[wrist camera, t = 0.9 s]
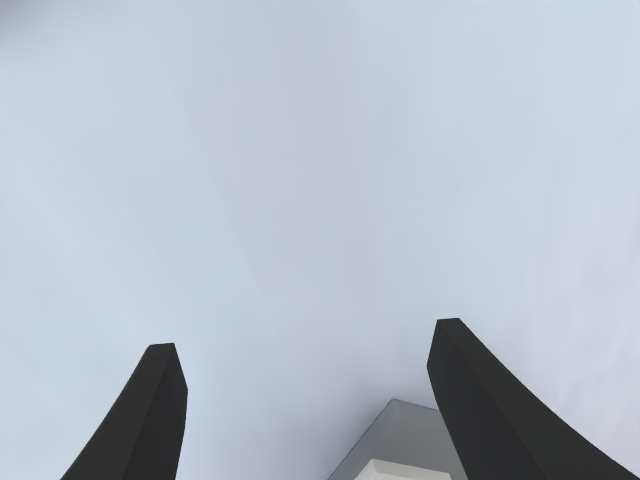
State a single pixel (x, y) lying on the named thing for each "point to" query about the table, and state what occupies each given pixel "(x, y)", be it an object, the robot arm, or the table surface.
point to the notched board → (403, 448)
